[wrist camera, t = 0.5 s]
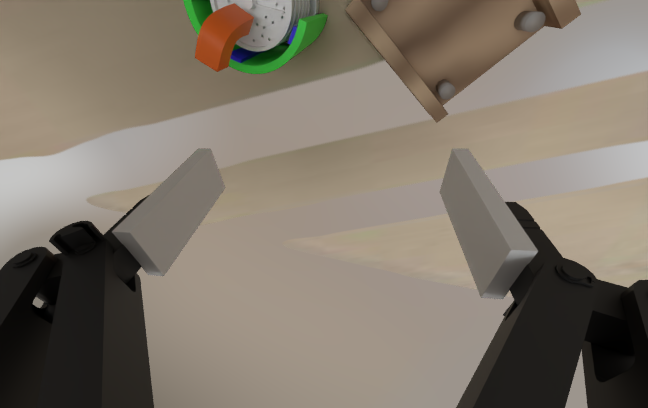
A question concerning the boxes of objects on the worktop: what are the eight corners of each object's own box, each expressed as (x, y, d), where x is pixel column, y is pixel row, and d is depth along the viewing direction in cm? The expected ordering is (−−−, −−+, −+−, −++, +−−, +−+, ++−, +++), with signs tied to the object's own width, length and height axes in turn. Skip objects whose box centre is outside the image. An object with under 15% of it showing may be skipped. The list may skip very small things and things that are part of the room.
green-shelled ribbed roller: (337, -16, 27) (310, -28, 14) (313, 62, 32) (274, 110, 19) (256, -58, 26) (135, -120, 12) (244, 29, 31) (147, 56, 17)
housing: (346, 10, 29) (343, 12, 25) (478, -159, 21) (500, -190, 17) (427, 111, 34) (434, 124, 31) (555, 9, 26) (584, 11, 23)
